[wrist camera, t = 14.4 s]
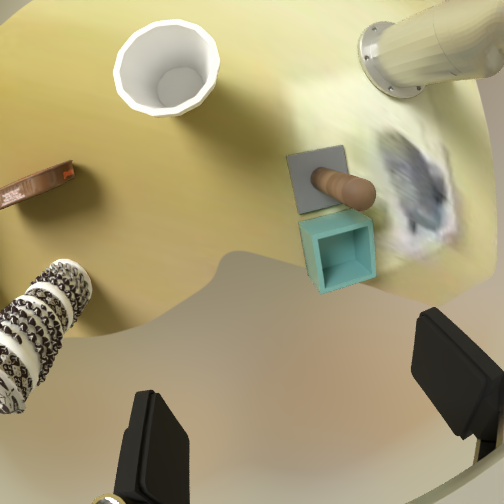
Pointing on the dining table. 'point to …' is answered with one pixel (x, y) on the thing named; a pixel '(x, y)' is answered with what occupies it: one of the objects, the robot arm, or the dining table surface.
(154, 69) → the foam cup
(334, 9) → the dining table surface
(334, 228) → the teal open box
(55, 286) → the decorative candle
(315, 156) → the coaster
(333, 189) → the dowel
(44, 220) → the dining table surface
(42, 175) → the tin
